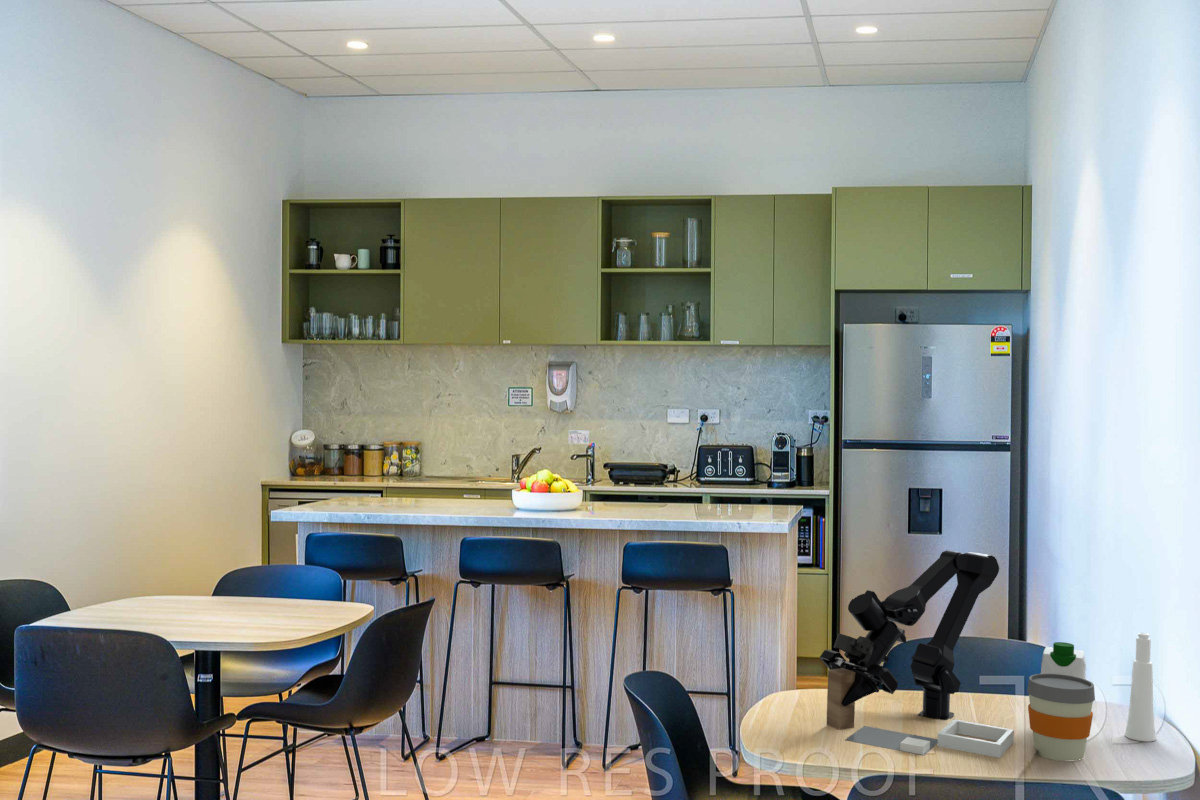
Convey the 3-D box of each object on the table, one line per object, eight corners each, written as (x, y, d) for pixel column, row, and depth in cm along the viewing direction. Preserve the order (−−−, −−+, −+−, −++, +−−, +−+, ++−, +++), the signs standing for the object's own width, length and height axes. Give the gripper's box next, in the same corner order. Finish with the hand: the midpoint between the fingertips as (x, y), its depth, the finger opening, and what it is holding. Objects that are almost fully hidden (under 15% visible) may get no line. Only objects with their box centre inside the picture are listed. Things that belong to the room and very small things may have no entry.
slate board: (864, 732, 240) (864, 725, 240) (940, 747, 232) (941, 739, 232) (844, 747, 230) (844, 739, 230) (923, 763, 221) (924, 755, 221)
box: (953, 738, 238) (953, 719, 238) (1013, 749, 231) (1013, 729, 231) (937, 753, 227) (937, 733, 227) (999, 765, 221) (1000, 744, 221)
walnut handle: (840, 729, 242) (842, 668, 242) (853, 734, 239) (855, 672, 239) (826, 731, 240) (828, 669, 240) (839, 736, 237) (841, 674, 237)
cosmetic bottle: (1135, 731, 246) (1138, 629, 246) (1162, 739, 241) (1165, 635, 241) (1118, 735, 243) (1121, 632, 242) (1145, 743, 238) (1149, 638, 237)
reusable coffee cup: (1097, 753, 230) (1099, 679, 230) (1088, 771, 219) (1090, 693, 219) (1031, 742, 236) (1033, 670, 236) (1019, 758, 225) (1022, 683, 225)
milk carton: (1037, 739, 238) (1040, 644, 238) (1040, 728, 247) (1043, 635, 246) (1083, 746, 235) (1086, 649, 234) (1084, 734, 243) (1087, 640, 243)
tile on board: (907, 744, 228) (907, 736, 228) (929, 748, 226) (929, 741, 226) (900, 750, 224) (900, 742, 224) (923, 754, 222) (923, 747, 222)
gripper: (827, 612, 249) (786, 667, 244) (889, 629, 233) (846, 689, 228) (853, 644, 253) (814, 700, 248) (916, 663, 237) (875, 723, 232)
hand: (835, 702), depth 239 cm, fingers closed on walnut handle, 4 cm apart
